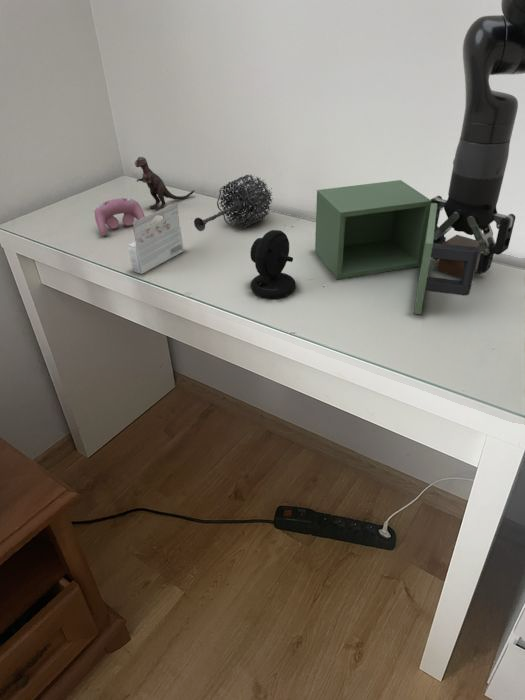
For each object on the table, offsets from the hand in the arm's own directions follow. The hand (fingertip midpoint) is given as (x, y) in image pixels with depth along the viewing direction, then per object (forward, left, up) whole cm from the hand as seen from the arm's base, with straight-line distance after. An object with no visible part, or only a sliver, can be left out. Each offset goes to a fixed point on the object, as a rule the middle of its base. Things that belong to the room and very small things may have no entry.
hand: (458, 265), depth 90 cm
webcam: (+19, +26, -1) cm, 32 cm away
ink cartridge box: (+42, +33, -1) cm, 53 cm away
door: (-2, +9, -1) cm, 9 cm away
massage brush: (+42, +13, -1) cm, 44 cm away
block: (0, 0, -1) cm, 1 cm away
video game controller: (+60, +29, -1) cm, 67 cm away
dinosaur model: (+64, +14, -1) cm, 66 cm away
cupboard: (+14, +7, -1) cm, 16 cm away
